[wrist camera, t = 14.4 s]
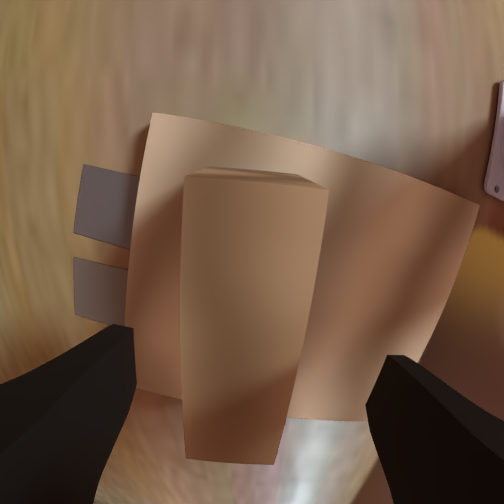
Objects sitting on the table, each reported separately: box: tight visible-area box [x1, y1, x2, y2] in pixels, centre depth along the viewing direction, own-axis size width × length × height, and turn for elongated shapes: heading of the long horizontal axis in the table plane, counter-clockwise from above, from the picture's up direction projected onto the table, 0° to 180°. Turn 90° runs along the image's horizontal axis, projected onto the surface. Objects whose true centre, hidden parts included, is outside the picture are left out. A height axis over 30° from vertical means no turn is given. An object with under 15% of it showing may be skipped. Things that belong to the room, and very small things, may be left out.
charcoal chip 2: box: [74, 257, 128, 326], centre depth 18 cm, size 4×4×1 cm
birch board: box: [125, 113, 480, 421], centre depth 17 cm, size 18×16×2 cm
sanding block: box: [180, 166, 329, 465], centre depth 13 cm, size 4×12×6 cm, turn 174°
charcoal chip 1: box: [74, 165, 140, 249], centre depth 17 cm, size 4×4×1 cm
